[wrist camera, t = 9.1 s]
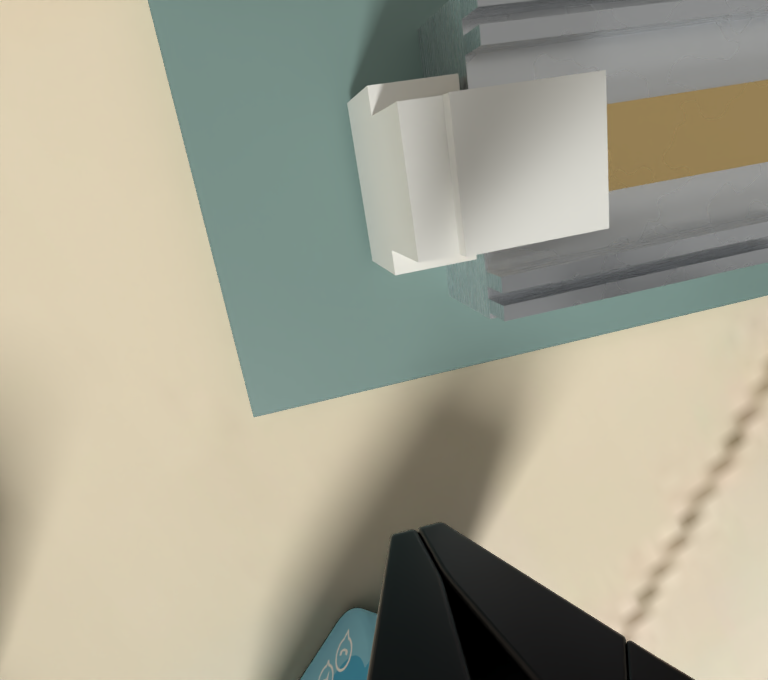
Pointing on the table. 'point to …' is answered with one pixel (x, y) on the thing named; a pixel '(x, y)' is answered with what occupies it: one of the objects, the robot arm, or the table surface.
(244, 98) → the board
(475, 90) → the clip
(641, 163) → the tan flat bar
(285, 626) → the table surface
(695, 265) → the heatsink
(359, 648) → the data package
